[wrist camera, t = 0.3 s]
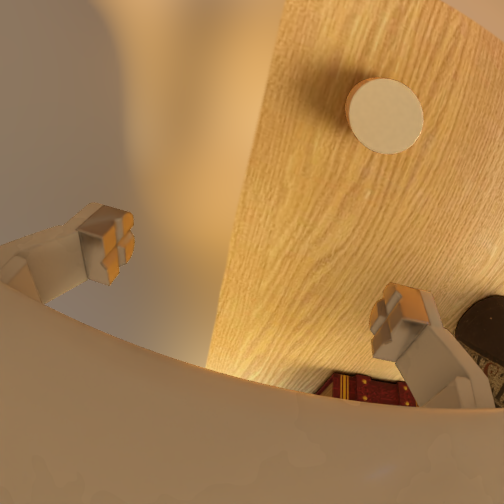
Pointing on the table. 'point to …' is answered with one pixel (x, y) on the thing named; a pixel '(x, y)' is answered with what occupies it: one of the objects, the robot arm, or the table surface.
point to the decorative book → (367, 390)
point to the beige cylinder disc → (384, 115)
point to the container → (486, 341)
